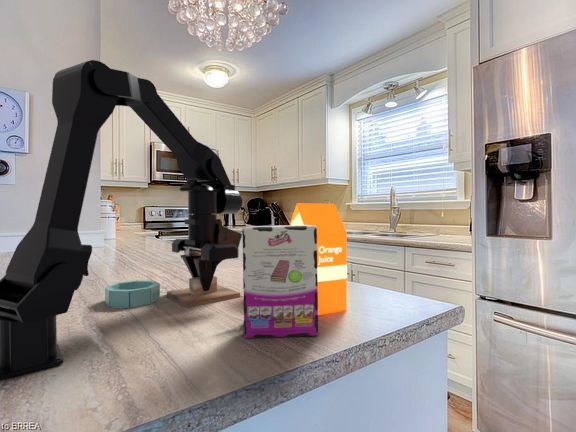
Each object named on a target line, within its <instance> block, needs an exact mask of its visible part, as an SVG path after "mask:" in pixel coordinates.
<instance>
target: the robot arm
mask: <svg viewBox="0 0 576 432" xmlns="http://www.w3.org/2000/svg"><path fill="white" fill-rule="evenodd" d="M51 88H52V95H51V104H52V107H53V110H54V114H55V116H56V120H57V126H56V128H55V134H54V137H53V143H52V146H51V151H50V155H49V159H48V163H47V168H46V171H45V176H44V180H43V185H42V188H41V193H40V197H39V202H38V204H37V205H38V206H37V211H36V213H35V219H34V222H33V224H32V226H31V227H30V229H29V230H28V232H27V233H26V234H25V236H24V237H23V238H21V240H20V242H19V243H18V244H17V246H16V248H15V250H14V252H13V255H12V256H11V259H10V261H9V263H8V265H7V268H6V270H5V275H4V276H2V278H1V279H0V380H3V379H7V378H10V377H11V378H12V377H16V376H19V375H22V374H26V373H30V372H35V371H39V370H42V369H47V368H50V367H55V366H59V365H61V364H63V363H64V357H63V354H62V352H61V349H60V346H59V344H57V316H58V315H59V316H60V315H63V314H67V312H68V311H69V308H70V306H71V302H72V299H73V297H74V294H75V291H77V290H78V289H79V288H80V286H82V285H81V284H82V281H83V279H84V277H89V275H90V274H89V269H88V267H89V261H90V258H91V256H92V252H93V246H92V245H91V244H83V243H82V240H81V238H80V234H79V224H80V219H81V215H82V210H83V205H84V200H85V195H86V190H87V187H88V182H89V177H90V172H91V168H92V162H93V157H94V154H95V148H96V146H97V145H96V144H97V138H98V134H99V131H100V130H101V128H102V127H103V125H105V123H106V122H107V120H108V119H109V118H110V117H111V115H112V114H113V113H114V112H115V108H116V107H117V106H118V107H119V106H121V107H129V108H130V109H132V111H133V112H134V113H135V114H136V115H137V117H139V118H140V119H141V120H142V122H144V123H145V125H146V126H147V127H148V128H149V130H150V131H151V132H153V133H154V134H155V136H157V138H158V139H159V140H160V141H161V142H162V143H163V144H164V145H165V146H166V148H167V149H169V151H170V152H171V153H172V154H173V156H174V157H175V161H176V166H177V168H178V169H179V170H180V173H181V174H182V175H183V176H184V178H185V179H186V182H185V183H184V184H183V185H181V187H180V188H179V192H186V193H187V200H188V201H187V206H188V207H187V209H188V212H187V213H188V216H187V217H188V218H186V219H184V225H187V226H188V229H187V231H188V232H187V233H188V235H187V236H188V237H187V238H186V237H185V238H175V239H174V241H172V243H171V253H180V252H184V253H183V254H180V258H181V259H182V260H183V262H184V264H185V266H186V268H187V270H188V272H189V274H190V276H191V278H196V277H199V279H200V282H201V285H202V288H203V291H209V289H210V286H211V282H212V279H213V276H215V273H216V270H217V267H218V266H219V264H221V262H223V261H226V260H231V259H238V258H239V247H240V243H241V240H242V238H243V233H241V232H238V231H237V230H234V229H230V228H228V227H227V226H224V225H223V220H221V219H220V218H218V215H225V214H226V215H227V214H228V215H231V214H232V215H234V214H236V213H238V212H239V211H240V210H241V208H242V206H243V198H242V196H241V194H240V192H239V191H238V190H236V186H235V184H231V181H230V179H229V176H228V174H227V172H226V169H225V167H224V165H223V162H222V159H221V158H220V157H219V155H218V154H217V153H216V152H215V151H214V150H213V149H211V147H209V146H208V145H206V144H204V143H201V142H200V141H198V140H197V139H196V138H194V136H193V135H192V134H191V133H190V131H188V129H187V128H186V126H184V124H183V123H182V122H181V120H179V118H178V117H177V115H176V114H175V113H174V111H172V110H171V108H170V107H169V106H168V105H167V103H166V102H165V101H164V99H163V98H161V96H160V95H159V94H158V91H157V88H156V86H155V84H154V83H153V82H152V81H150V80H148V79H147V78H146V79H145V78H141V77H137V76H136V75H134V74H132V73H130V72H128V71H124V70H119V69H115V68H111V67H110V66H108V65H107V64H106V63H104V62H101V61H99V60H95V59H91V60H87V61H83V62H80V63H77V64H74V65H72V66H69V67H67V68H63V69H60V70H58V71H57V72H56V73H55V74H54V77H53V79H52V87H51Z"/></svg>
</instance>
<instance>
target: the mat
mask: <svg viewBox="0 0 576 432" xmlns="http://www.w3.org/2000/svg"><path fill="white" fill-rule="evenodd" d="M163 296H164V297H165V298H168V299H170V300H171V301H173V302H175V303H177V304H179V305H181V306H183V307H185V308H186V309H191V308H195V307H197V308H198V307H202V306H206V305H210V304H216V303H221V302H226V301H230V300H235V299H241V298H244V295H240V297H236V298H231V299H226V300H221V301H216V302H211V303H206V304H201V305H196V306H191V307H188V306H187V305H185V304H183V303H181V302H179V301H177V300H175V299H173V298H171V297H169V296H167V294H164V295H163Z"/></svg>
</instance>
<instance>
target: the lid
mask: <svg viewBox="0 0 576 432" xmlns="http://www.w3.org/2000/svg"><path fill="white" fill-rule="evenodd" d="M188 280H189V285H188V287H187V288H181V289H174V290H168V291H166V295H167V296H169V297H171V298H173V299H175V300H177V301H179V302H181V303H183V304H185V305H187V306H188V307H191V306H196V305H201V304H206V303H211V302H216V301H221V300H226V299H231V298H236V297H240V296H241V292H240V291H236V290H234V289H231V288H227V287H224V286H221V285H219V284H218V276H215V275H214V276H213V279H212V282H211V286H210V289H209V291H203V288H202V285H201V282H200V279H199V277H196V278H192V277H190V278H188ZM236 299H237V298H236ZM231 300H232V299H231ZM226 301H227V300H226ZM221 302H222V301H221ZM216 303H217V302H216ZM211 304H212V303H211Z"/></svg>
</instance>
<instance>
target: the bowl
mask: <svg viewBox="0 0 576 432" xmlns="http://www.w3.org/2000/svg"><path fill="white" fill-rule="evenodd" d="M160 286H161V283H160V282H158V281H156V280H148V279H146V280H145V279H144V280H143V279H141V280H140V279H138V280H135V279H134V280H129V281H120V282H115V283H113V284H110V285H107V286H105V287H104V303H105V305H106V306H107V307H109V308H119V309H120V308H121V309H122V308H123V309H125V308H127V309H128V308H131V309H132V308H136V307H143V306H147V305H150V304H151V305H152V304H153V303H155V302H156V301H159V300H160V299H161V287H160Z"/></svg>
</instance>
